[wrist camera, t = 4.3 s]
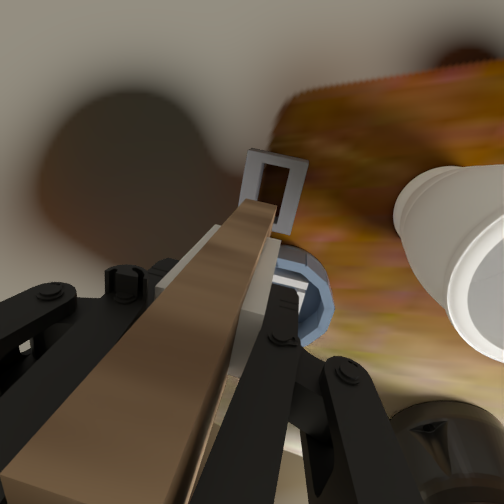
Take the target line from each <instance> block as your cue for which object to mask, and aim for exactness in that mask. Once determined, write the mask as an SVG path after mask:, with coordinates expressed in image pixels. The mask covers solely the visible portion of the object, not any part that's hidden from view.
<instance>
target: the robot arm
mask: <svg viewBox="0 0 504 504" xmlns="http://www.w3.org/2000/svg"><path fill="white" fill-rule="evenodd" d="M220 227H221V226H220V225H216V224H215V225H214V226H213V227H212V228H211V229H210V230H209V231H208V232H207V233H206V234H205V235H204V237H203V238H202V239H201V240H200V241H199V242H198V243H197V244H196V245H195V246H194V247H193V248H192V249H191V250H190V251H189V252H188V253H187V254H186V255H185V256H184V257H183V258H182V259H181V260H180V261H179V260H175V259H171V258H166V259H163V260H161V261H158V262H157V263H156V264H155V265H153V266H152V268H150V269H149V270H148V271H146V270H145V269H144V268H142V267H139V266H136V265H117V266H114V267H111V268H108V269H107V270H105V294H104V295H103V296H102V297H101V298H80V297H77V293H76V289H75V287H73V286H72V285H70V284H67V283H62V282H51V283H44V284H41V285H38V286H35V287H32V288H30V289H28V290H26V291H24V292H21V293H19V294H17V295H15V296H13V297H11V298H8V299H6V300H5V301H2V302H0V473H1V472H2V471H3V470H4V468H5V467H6V466H7V465H8V464H9V463H10V462H11V461H12V460H13V458H14V457H15V456H16V455H17V454H18V453H19V452H20V451H21V449H22V448H23V447H24V446H25V445H26V444H27V443H28V442H29V441H30V439H31V438H32V437H33V436H34V435H35V434H36V433H37V432H38V430H39V429H40V428H41V427H42V426H43V425H44V424H45V423H46V422H47V420H48V419H49V418H50V417H51V416H52V415H53V414H54V413H55V411H56V410H57V409H58V408H59V407H60V406H61V405H62V404H63V403H64V401H65V400H66V399H67V398H68V397H69V396H70V395H71V394H72V392H73V391H74V390H75V389H76V388H77V387H78V386H79V385H80V383H81V382H82V381H83V380H84V379H85V378H86V377H87V376H88V375H89V373H90V372H91V371H92V370H93V369H94V368H95V367H96V366H97V364H98V363H99V362H100V361H101V360H102V359H103V358H104V357H105V356H106V354H107V353H108V352H109V351H110V350H111V349H112V348H113V347H114V345H115V344H116V343H117V342H118V341H119V340H120V339H121V338H122V337H123V335H124V334H125V333H126V332H127V331H128V330H129V329H130V328H131V326H132V325H133V324H134V323H135V322H136V321H137V320H138V319H139V318H140V316H141V315H142V314H143V313H144V312H145V311H146V310H147V309H148V307H149V306H150V305H151V304H152V303H153V302H154V301H155V300H156V299H157V297H158V296H159V295H160V294H161V293H162V292H163V291H164V290H165V288H166V287H167V286H168V285H169V284H170V283H171V282H172V281H173V280H174V278H175V277H176V276H177V275H178V274H179V273H180V272H181V271H182V269H183V268H184V267H185V266H186V265H187V264H188V263H189V262H190V260H191V259H192V258H193V257H194V256H195V255H196V254H197V253H198V252H199V250H200V249H201V248H202V247H203V246H204V245H205V244H206V243H207V241H208V240H209V239H210V238H211V237H212V236H213V235H214V234H215V233H216V231H217V230H218V229H219V228H220ZM280 244H281V240H278V239H274V238H270V237H267V239H266V242H265V245H264V247H263V250H262V253H261V255H260V258H259V261H258V264H257V266H256V269H255V272H254V275H253V277H252V280H251V283H250V286H249V288H248V291H247V294H246V297H245V299H244V302H243V305H242V308H241V311H240V316H239V321H238V326H237V330H236V335H235V340H234V345H233V349H232V354H231V359H230V364H229V368H228V373H227V375H231V376H234V377H238V378H240V380H239V383H238V385H237V388H236V390H235V393H234V395H233V398H232V400H231V402H230V405H229V407H228V410H227V412H226V415H225V417H224V420H223V422H222V425H221V427H220V430H219V432H218V435H217V437H216V440H215V442H214V445H213V447H212V449H211V452H210V454H209V457H208V459H207V462H206V464H205V467H204V469H203V472H202V474H201V477H200V479H199V481H198V484H197V486H196V489H195V491H194V494H193V496H192V499H191V501H190V504H274V498H275V492H276V486H277V481H278V475H279V469H280V464H281V458H282V453H283V447H284V441H285V435H286V430H287V424H288V422H290V423H291V424H293V425H294V426H296V427H297V428H299V429H300V436H301V444H302V452H303V460H304V469H305V477H306V485H307V493H308V502H309V504H504V427H503V425H502V424H501V423H500V421H499V420H498V419H497V418H496V417H494V416H493V415H492V414H490V413H489V412H487V411H485V410H483V409H481V408H478V407H476V406H473V405H469V404H465V403H460V402H451V401H437V402H428V403H423V404H419V405H415V406H412V407H410V408H407V409H405V410H403V411H401V412H400V413H398V414H397V415H395V416H394V417H393V418H392V419H391V420H390V421H389V419H388V417H387V414H386V412H385V410H384V407H383V405H382V403H381V400H380V398H379V395H378V393H377V391H376V388H375V386H374V384H373V381H372V379H371V377H370V376H369V374H368V372H367V371H366V370H365V369H364V368H363V367H362V366H361V365H360V364H358V363H357V362H355V361H353V360H351V359H349V358H345V357H342V356H333V357H331V358H328V359H327V361H326V362H324V361H322V360H320V359H318V358H316V357H314V356H313V355H311V354H310V353H308V352H307V351H306V350H305V349H304V348H303V347H302V345H301V340H300V339H299V337H298V316H299V312H298V311H299V295H298V294H297V292H296V290H295V289H293V288H289V287H285V286H281V285H277V284H273V283H272V280H273V275H274V271H275V266H276V262H277V257H278V253H279V248H280ZM27 340H30V346H31V348H30V349H28V350H26V351H24V352H22V353H20V350H19V345H21V344H23V343H24V342H26V341H27ZM0 504H8V503H7V500H6V496H5V493H4V489H3V486H2V482H1V479H0Z"/></svg>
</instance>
